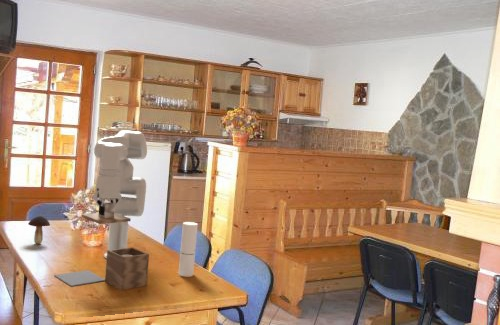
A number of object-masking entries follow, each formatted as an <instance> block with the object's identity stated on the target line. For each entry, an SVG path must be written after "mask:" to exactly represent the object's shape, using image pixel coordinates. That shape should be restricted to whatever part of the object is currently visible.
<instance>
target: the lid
mask: <svg viewBox="0 0 500 325" xmlns="http://www.w3.org/2000/svg"><path fill="white" fill-rule="evenodd" d="M104 206H105V210H104V215H100V214H99V212H93V213H82V214H81V218H84V219H86V220H89V221H91V222H94V223H96V224H98V225H103V224H104V225H106V224H110V223H117V222H128V223H129V222H131V218H130V217H128V216H122V215H119V214H116V213H114V211H115V204H114V203H111V202H110V201H105V202H104Z"/></svg>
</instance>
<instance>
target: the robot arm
mask: <svg viewBox="0 0 500 325" xmlns="http://www.w3.org/2000/svg"><path fill="white" fill-rule="evenodd" d="M93 152H94V153H93V154H94V156H95V157H96V158H97V159H99V160H101V162H100V172H99V173H100V175H98V176H97V179H96V183H95V190H94V195H93V197H92V200H93V201H94V202H96V203H97V205H98V213H99V214H100V215H104V210H105V206H104V202H106V200H109V202H111V203H114V204H115V211H114V213H116V214H119V215H122V216H125V217H142V215H143V214H144V210H145V202H146V192H147V182H146V179H145V178H144V177H138V176H133V175H134V165H133V164H132V162H131V161H130V160H129V159H131V160H145V158H146V157H147V153H148V145H147V140H146V136H145V134H144V133H143V132H141V131H135V130H134V131H133V130H120V131H118V132H117V133H116V134H115V135H114V136H113V135H112V136H108V137H104V138H101V139H99V140H98V141H97V142H96V144H95V145H94V149H93ZM122 195H125V196H122ZM127 195H128V196H129V197H128V196H127ZM130 196H135V197H130ZM108 228H109V229H108V239H107V240H108V241H107V250H115V249H123V248H128V236H129V221H128V222H117V223H109V226H108ZM103 257H104V258H105V259H107V252H105V253H104V254H103Z"/></svg>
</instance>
